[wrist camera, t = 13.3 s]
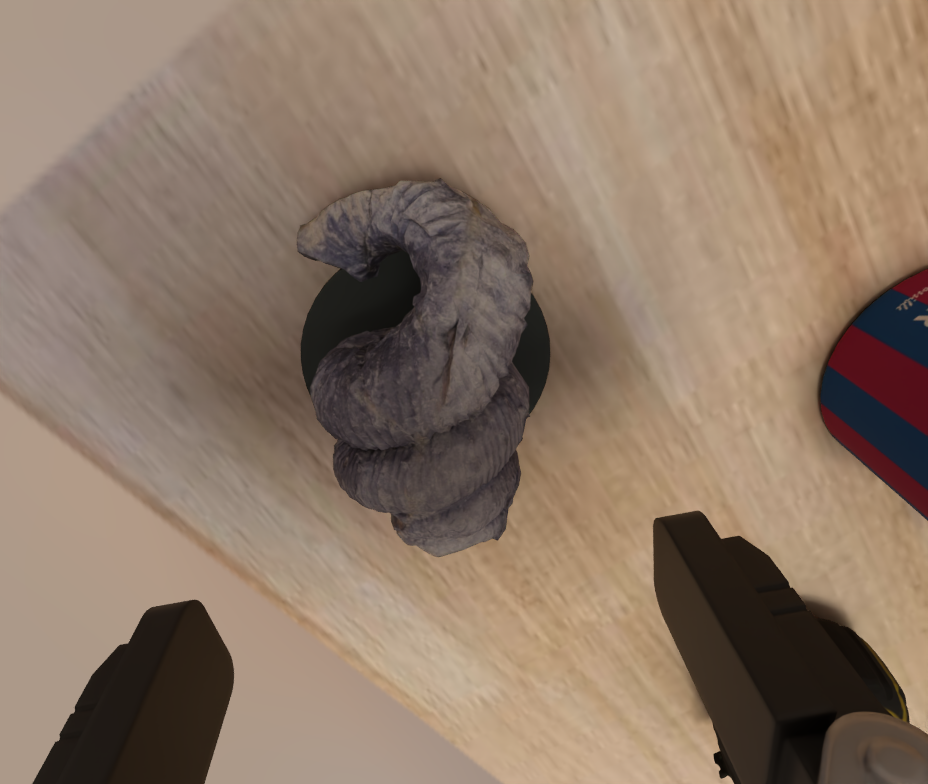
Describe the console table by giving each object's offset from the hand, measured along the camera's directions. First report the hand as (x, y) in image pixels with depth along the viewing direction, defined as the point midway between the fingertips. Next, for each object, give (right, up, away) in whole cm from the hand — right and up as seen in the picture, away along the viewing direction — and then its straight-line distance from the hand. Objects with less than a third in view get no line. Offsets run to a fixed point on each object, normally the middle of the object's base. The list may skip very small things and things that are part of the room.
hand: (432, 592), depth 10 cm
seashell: (0, +5, +6) cm, 8 cm away
